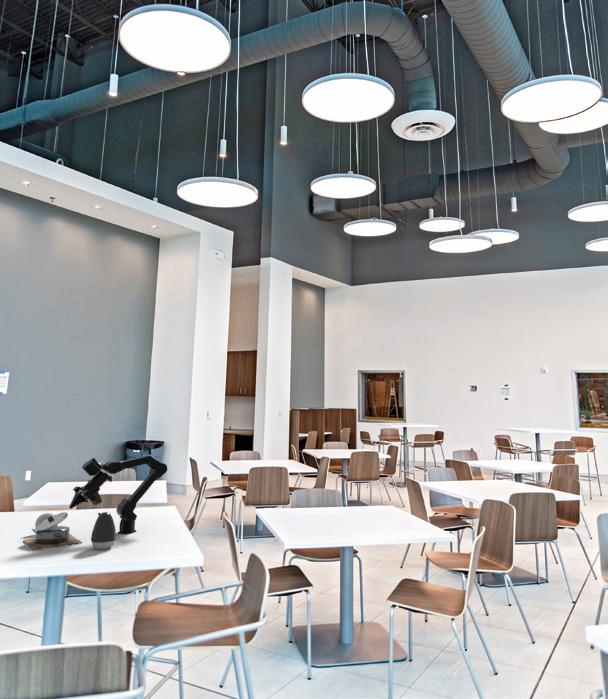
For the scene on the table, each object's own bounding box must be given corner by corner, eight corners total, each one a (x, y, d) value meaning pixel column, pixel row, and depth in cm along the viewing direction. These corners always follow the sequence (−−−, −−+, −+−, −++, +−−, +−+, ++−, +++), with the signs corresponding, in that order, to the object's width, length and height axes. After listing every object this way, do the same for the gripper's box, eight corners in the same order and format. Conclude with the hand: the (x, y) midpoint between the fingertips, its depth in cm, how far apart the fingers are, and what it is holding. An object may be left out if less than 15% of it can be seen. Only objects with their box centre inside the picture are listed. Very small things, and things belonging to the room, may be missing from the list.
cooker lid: (63, 512, 239) (61, 506, 239) (71, 516, 229) (69, 510, 228) (30, 529, 230) (27, 524, 229) (37, 535, 219) (34, 529, 219)
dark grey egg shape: (107, 544, 227) (109, 509, 229) (119, 548, 220) (122, 512, 223) (85, 548, 219) (88, 512, 221) (97, 552, 213) (100, 515, 215)
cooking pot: (61, 534, 242) (62, 523, 242) (75, 543, 225) (76, 531, 226) (30, 538, 233) (31, 527, 234) (41, 548, 216) (42, 535, 217)
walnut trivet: (69, 535, 243) (69, 534, 243) (81, 543, 227) (82, 542, 228) (22, 541, 230) (22, 540, 230) (32, 550, 215) (33, 548, 215)
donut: (33, 535, 242) (35, 514, 243) (34, 534, 245) (36, 512, 246) (56, 534, 245) (58, 512, 246) (57, 532, 248) (59, 511, 250)
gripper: (114, 496, 239) (87, 522, 231) (100, 491, 253) (75, 516, 245) (98, 480, 235) (71, 506, 227) (85, 476, 250) (59, 501, 241)
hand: (70, 508), depth 235 cm, fingers closed
